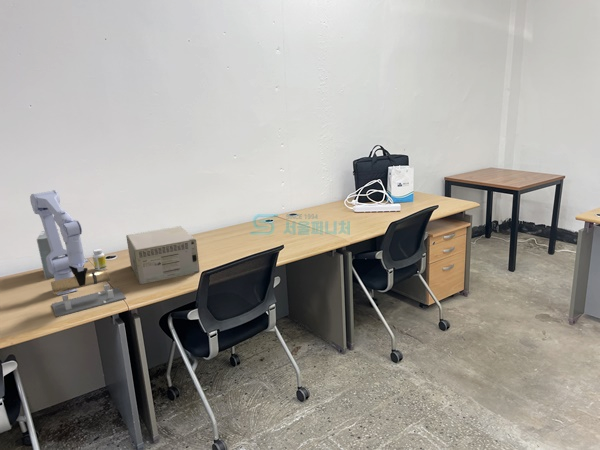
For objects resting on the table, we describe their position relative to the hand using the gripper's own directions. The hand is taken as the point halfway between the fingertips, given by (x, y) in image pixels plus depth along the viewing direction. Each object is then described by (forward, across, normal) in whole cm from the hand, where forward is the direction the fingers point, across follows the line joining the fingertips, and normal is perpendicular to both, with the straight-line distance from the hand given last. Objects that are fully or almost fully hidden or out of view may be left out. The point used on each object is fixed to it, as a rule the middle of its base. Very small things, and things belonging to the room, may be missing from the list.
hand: (81, 283), depth 182 cm
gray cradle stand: (+8, -1, -2) cm, 9 cm away
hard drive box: (+9, +49, +5) cm, 50 cm away
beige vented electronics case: (+9, +17, -39) cm, 43 cm away
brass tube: (+2, 0, 0) cm, 2 cm away
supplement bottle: (+9, +39, -14) cm, 42 cm away
